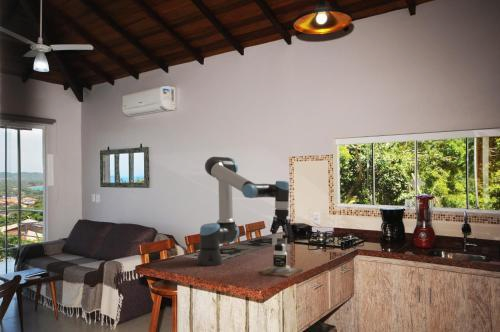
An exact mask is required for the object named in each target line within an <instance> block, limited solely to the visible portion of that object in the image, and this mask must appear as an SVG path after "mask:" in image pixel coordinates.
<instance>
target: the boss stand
mask: <svg viewBox="0 0 500 332" xmlns="http://www.w3.org/2000/svg"><path fill="white" fill-rule="evenodd" d="M303 270H304V269H303V268H299V267H298V268H297V267H292V266H290V265H288V264H287V268H276V267H273V264H272V265H271V266H268V267H265V268H263V269H259V270H258V271H257V272H258V274H260V275H261V274H263V275H267V274H268V276H273V277H280V276H281V278H288V279H289V278H291V277H293V276H295V275H297V274H299V273H301V272H303Z"/></svg>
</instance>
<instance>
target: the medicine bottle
mask: <svg viewBox="0 0 500 332" xmlns="http://www.w3.org/2000/svg"><path fill="white" fill-rule="evenodd" d="M286 251H287V250H285V244H284V243H277V244H276V245H275V246H274V252H273V256H272V259H273V261H272V262H273V263H272V265H273V267H276V268H287V265H288V253H287V252H286Z"/></svg>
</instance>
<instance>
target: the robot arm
mask: <svg viewBox="0 0 500 332" xmlns="http://www.w3.org/2000/svg"><path fill="white" fill-rule="evenodd" d="M204 163H205V164H204V170H205V172H206V173H207V174H208V175H209V176H211V177H212V178H215V179H216V180H217V181H218V219H217V221H216V222H212V223H211V222H210V223H204V224H203V225H201V226H200V230H199V252H198V255H197V259H196V264H197V265H199V266H204V267H207V266H208V267H209V266H219V265H222V264H223V258H222V256H221V255H222V254H221V251H220V245H221V244H230V243H233V242H235V241H236V240H237V239H238V238H239V236H240V228H239V227H238V226H239V225H237V224H236V220H235V219H234V218H233V217H234V216H233V188H234V189H236V190H238V191H240V192H241V193H242V195H243V197H244V198H246V199H247V198H249V199H255V198H256V199H257V198H273V199H274V198H275V200H274V208H275V209H274V216H273V217H272V218H273V219H272V223H271V225H270V230H269V232H270V233H271V246H272V247H273V246H274V247H275V245H276V244H278V230H279V229H280V228H281V227H282V229H283V232H284V234H285V250H286V251H290V250H291V245H292V243H291V242H292V241H291V240H292V238H294V232H293V228H292V225H291V219H290V218H288V217H289V215H290V214H289V208H290V207H289V205H290V200H289V199H290V198H289V197H290V183H289V181H286V180H276V181H275V184H272V183H254V182H252V181H250V180H249V179H247V178H245V177H243V175H240V174H238V173H237V172H239V171H238V170H239V169H238V168H239V167H238V166H239V165H238V163H237V161H236V160H235V159H234V158H232V157H227V156H226V157H222V156H211V157H209V158H208V159H207V160H206V161H205V162H204Z"/></svg>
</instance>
